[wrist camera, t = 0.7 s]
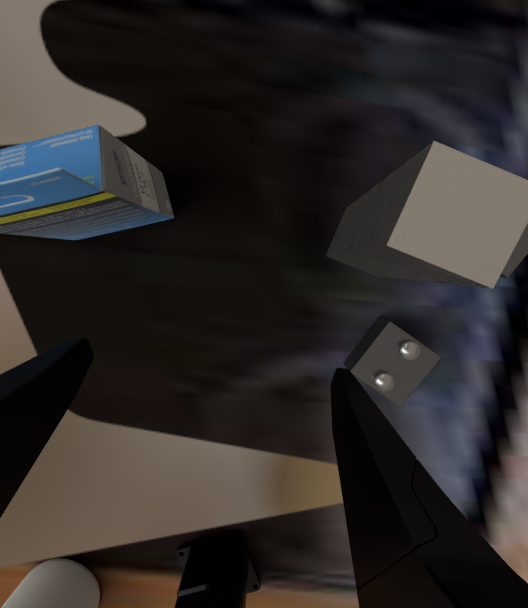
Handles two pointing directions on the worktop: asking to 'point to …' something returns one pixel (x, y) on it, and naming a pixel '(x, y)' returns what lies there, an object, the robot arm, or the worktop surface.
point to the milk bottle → (56, 587)
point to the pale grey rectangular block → (436, 221)
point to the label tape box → (78, 187)
